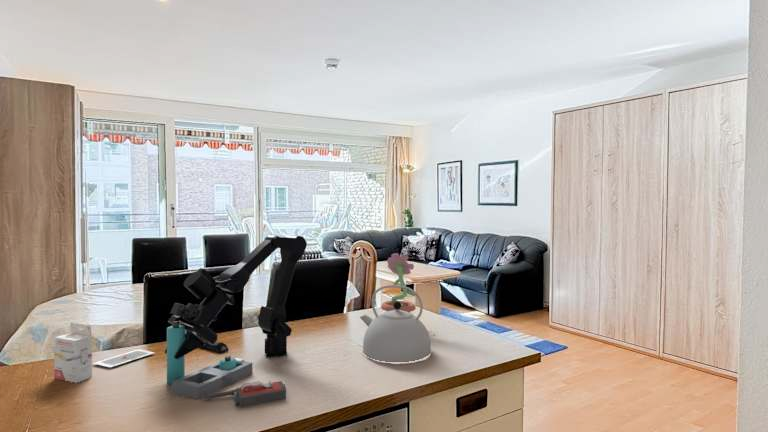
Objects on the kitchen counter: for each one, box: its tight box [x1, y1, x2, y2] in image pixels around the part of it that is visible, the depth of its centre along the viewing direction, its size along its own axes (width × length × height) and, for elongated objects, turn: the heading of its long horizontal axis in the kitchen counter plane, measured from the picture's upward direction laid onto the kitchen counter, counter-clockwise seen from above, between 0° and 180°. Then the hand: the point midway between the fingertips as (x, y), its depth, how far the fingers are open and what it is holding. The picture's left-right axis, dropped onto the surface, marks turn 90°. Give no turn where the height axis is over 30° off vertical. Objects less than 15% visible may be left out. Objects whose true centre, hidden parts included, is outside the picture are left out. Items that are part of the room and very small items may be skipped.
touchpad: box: [93, 348, 155, 368], centre depth 140 cm, size 8×15×2 cm, turn 156°
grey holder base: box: [171, 355, 253, 400], centre depth 123 cm, size 20×9×6 cm, turn 156°
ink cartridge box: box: [54, 322, 93, 384], centre depth 125 cm, size 9×5×15 cm, turn 71°
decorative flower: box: [380, 252, 417, 313], centre depth 181 cm, size 15×14×30 cm
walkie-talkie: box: [202, 380, 287, 408], centre depth 113 cm, size 9×4×20 cm
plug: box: [166, 321, 186, 387], centre depth 123 cm, size 4×4×16 cm
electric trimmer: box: [200, 340, 229, 354], centre depth 153 cm, size 4×16×3 cm, turn 58°
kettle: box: [359, 284, 432, 362], centre depth 151 cm, size 25×23×22 cm
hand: (170, 355), depth 122 cm, fingers open, 5 cm apart
